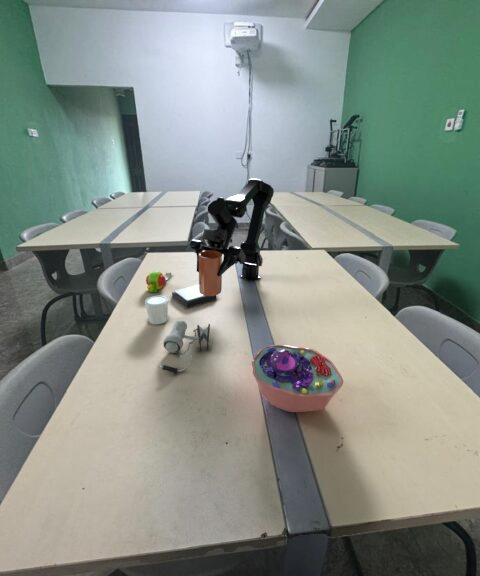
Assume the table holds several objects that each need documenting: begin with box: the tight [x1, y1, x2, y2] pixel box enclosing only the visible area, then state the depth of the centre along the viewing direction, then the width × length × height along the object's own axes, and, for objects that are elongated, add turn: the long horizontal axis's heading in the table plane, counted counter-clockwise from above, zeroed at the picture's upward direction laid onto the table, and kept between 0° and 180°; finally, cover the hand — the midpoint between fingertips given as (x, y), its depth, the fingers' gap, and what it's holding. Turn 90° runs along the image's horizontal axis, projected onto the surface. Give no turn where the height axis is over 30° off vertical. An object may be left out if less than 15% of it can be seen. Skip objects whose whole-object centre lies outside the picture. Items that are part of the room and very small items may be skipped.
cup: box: [198, 250, 223, 296], centre depth 102 cm, size 7×7×13 cm
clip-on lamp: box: [158, 320, 211, 374], centre depth 83 cm, size 12×6×18 cm
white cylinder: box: [144, 295, 169, 325], centre depth 99 cm, size 7×7×7 cm
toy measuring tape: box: [145, 270, 172, 293], centre depth 124 cm, size 6×20×7 cm, turn 173°
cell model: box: [251, 344, 344, 413], centre depth 69 cm, size 17×20×11 cm
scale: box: [171, 283, 217, 309], centre depth 115 cm, size 12×11×2 cm
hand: (207, 273), depth 101 cm, fingers closed on cup, 7 cm apart
